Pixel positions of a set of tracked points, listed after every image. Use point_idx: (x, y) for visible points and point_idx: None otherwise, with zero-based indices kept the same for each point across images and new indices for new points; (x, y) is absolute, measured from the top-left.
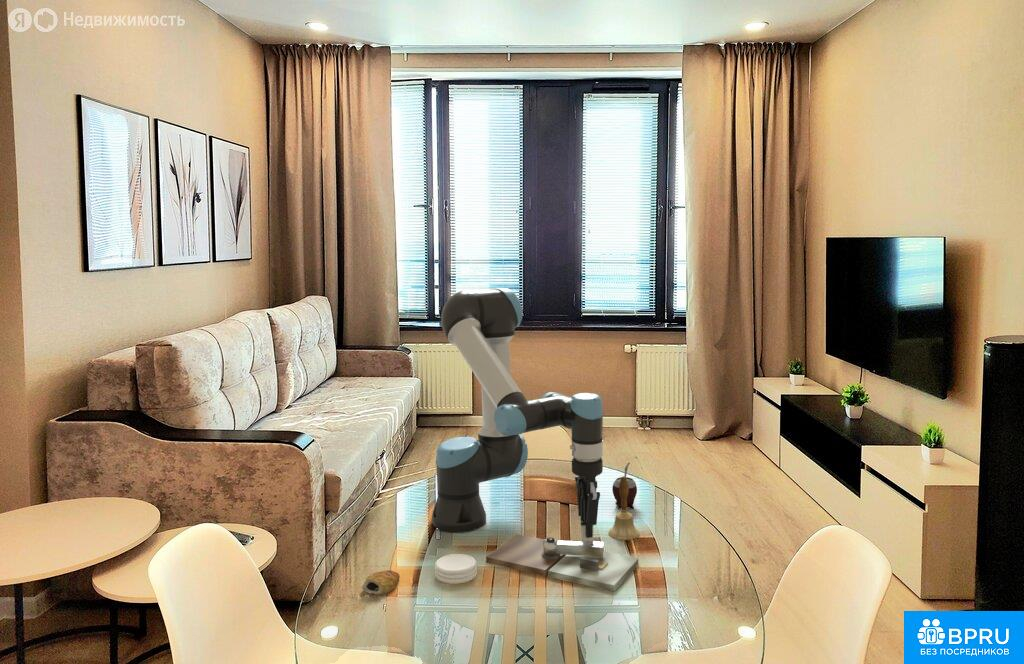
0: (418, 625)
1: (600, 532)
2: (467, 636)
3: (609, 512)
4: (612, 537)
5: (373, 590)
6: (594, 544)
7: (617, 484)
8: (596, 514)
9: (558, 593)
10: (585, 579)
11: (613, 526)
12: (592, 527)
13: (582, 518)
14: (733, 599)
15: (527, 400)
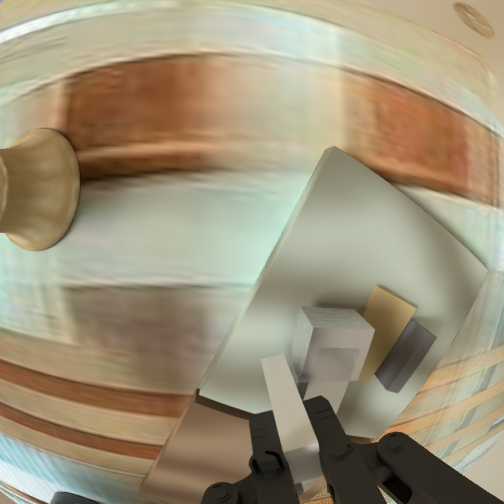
0: None
1: (31, 278)
2: (480, 447)
3: None
4: (62, 236)
5: None
6: (338, 368)
7: None
8: (457, 477)
9: (446, 390)
10: (446, 349)
11: (17, 235)
12: (312, 428)
13: (299, 501)
14: (470, 11)
15: None
